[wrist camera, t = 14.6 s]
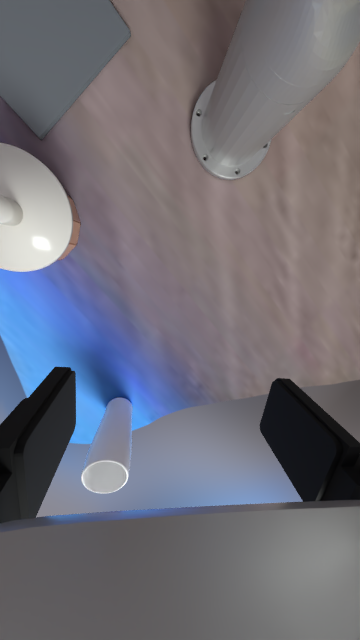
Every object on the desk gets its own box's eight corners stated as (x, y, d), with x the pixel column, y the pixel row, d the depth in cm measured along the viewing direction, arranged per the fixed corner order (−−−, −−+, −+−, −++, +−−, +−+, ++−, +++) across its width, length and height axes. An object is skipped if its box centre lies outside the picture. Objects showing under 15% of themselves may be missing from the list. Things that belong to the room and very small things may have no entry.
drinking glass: (96, 406, 44) (69, 479, 30) (120, 387, 44) (105, 451, 29) (119, 425, 46) (104, 501, 32) (142, 406, 46) (138, 476, 31)
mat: (6, -146, 23) (3, -157, 22) (130, 35, 28) (130, 31, 28) (-92, -4, 25) (-98, -10, 24) (41, 140, 30) (39, 137, 30)
